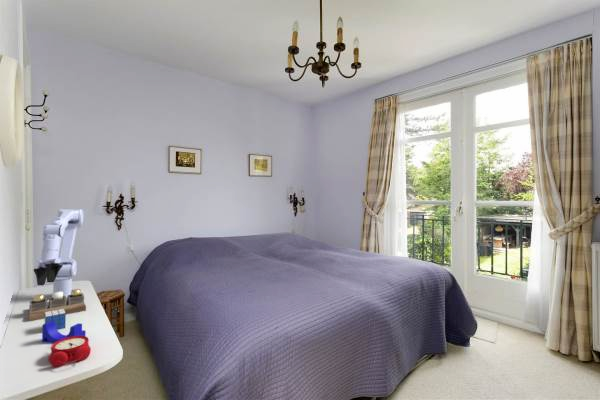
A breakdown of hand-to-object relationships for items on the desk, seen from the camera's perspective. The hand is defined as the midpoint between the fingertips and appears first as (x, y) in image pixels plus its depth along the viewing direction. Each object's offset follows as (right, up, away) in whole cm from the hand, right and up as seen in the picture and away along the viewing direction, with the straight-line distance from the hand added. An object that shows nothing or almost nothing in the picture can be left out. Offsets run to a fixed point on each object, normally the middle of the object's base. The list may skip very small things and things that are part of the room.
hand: (45, 283), depth 126 cm
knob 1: (-2, -8, -1) cm, 8 cm away
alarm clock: (+36, -14, -33) cm, 51 cm away
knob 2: (+7, -8, +8) cm, 13 cm away
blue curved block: (+26, -13, -23) cm, 37 cm away
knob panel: (+2, -12, +4) cm, 13 cm away
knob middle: (+2, -8, +4) cm, 9 cm away
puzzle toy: (+15, -13, -13) cm, 24 cm away
